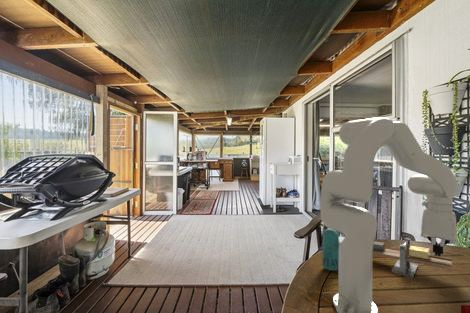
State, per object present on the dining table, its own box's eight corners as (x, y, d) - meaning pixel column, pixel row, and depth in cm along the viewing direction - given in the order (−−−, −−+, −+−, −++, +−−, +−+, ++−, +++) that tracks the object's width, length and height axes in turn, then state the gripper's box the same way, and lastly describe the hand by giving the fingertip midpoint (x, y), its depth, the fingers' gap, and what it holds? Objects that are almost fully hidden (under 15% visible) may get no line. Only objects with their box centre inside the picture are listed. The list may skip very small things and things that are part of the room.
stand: (412, 278, 93) (413, 249, 93) (391, 272, 98) (392, 244, 98) (417, 266, 103) (418, 239, 103) (398, 261, 108) (398, 235, 107)
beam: (451, 270, 88) (450, 256, 88) (366, 253, 107) (365, 242, 107) (452, 263, 93) (451, 250, 93) (371, 248, 112) (370, 237, 113)
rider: (428, 261, 93) (427, 252, 93) (409, 257, 97) (408, 249, 98) (430, 257, 97) (429, 248, 97) (411, 254, 101) (410, 245, 101)
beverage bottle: (320, 272, 98) (321, 223, 98) (323, 265, 104) (323, 218, 104) (338, 275, 95) (338, 225, 95) (339, 268, 101) (340, 220, 101)
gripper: (413, 205, 95) (412, 252, 96) (466, 212, 85) (464, 264, 85) (416, 202, 101) (415, 246, 101) (466, 208, 90) (464, 257, 91)
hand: (437, 254), depth 93 cm, fingers closed
